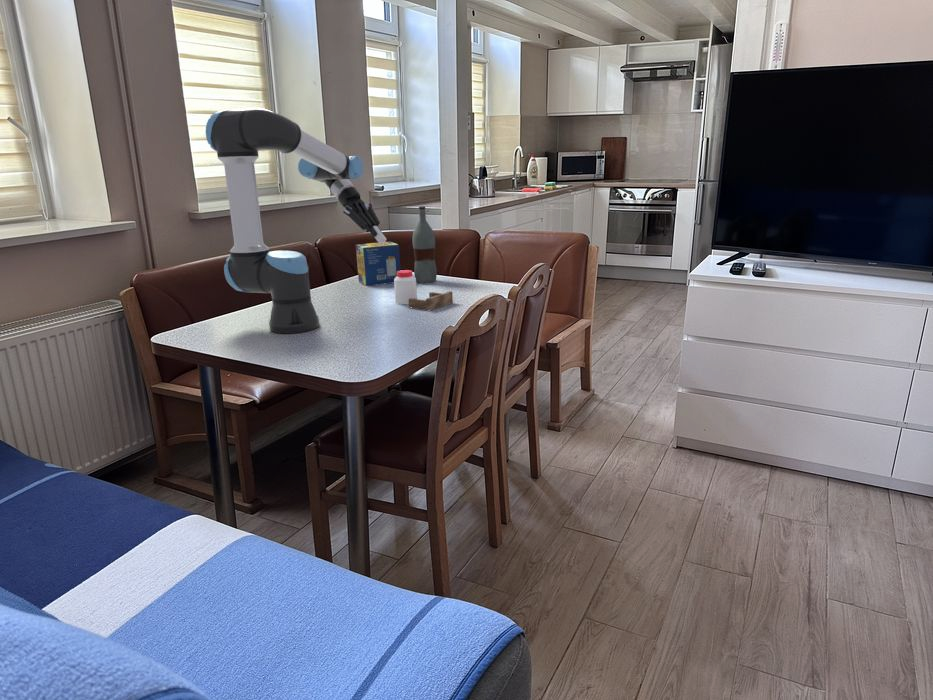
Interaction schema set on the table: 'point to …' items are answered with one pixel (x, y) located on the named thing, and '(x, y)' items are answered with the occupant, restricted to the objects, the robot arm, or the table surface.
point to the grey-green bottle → (424, 250)
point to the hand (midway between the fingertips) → (383, 242)
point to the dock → (432, 301)
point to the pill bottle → (405, 287)
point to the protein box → (377, 262)
